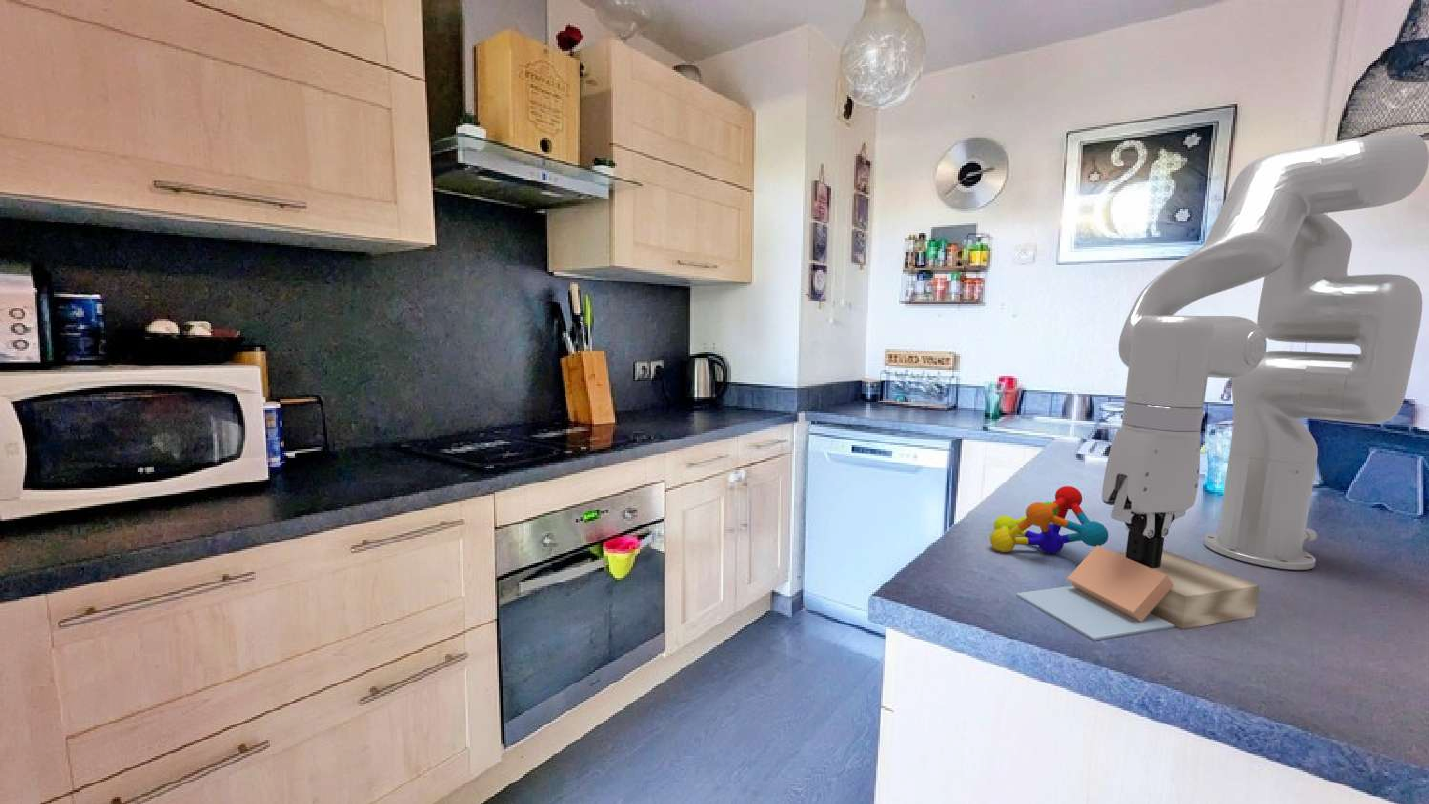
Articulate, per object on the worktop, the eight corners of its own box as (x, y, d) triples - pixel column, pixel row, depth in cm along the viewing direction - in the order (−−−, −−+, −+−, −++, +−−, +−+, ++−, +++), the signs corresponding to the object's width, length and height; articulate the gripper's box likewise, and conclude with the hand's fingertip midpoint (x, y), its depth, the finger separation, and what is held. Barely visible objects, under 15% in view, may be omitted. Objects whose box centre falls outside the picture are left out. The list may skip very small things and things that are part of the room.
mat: (1088, 585, 76) (1088, 583, 76) (1174, 627, 66) (1174, 624, 66) (1016, 595, 73) (1016, 593, 73) (1093, 640, 63) (1094, 638, 63)
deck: (1154, 574, 80) (1158, 547, 80) (1254, 616, 69) (1259, 585, 68) (1088, 583, 77) (1091, 555, 76) (1181, 629, 66) (1186, 596, 65)
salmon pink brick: (1104, 554, 75) (1097, 545, 75) (1173, 585, 67) (1166, 574, 66) (1074, 587, 75) (1067, 577, 74) (1141, 622, 66) (1133, 612, 66)
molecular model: (1009, 585, 84) (1120, 554, 79) (982, 525, 84) (1092, 491, 79) (993, 548, 98) (1086, 521, 93) (970, 497, 98) (1062, 467, 93)
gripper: (1173, 413, 74) (1156, 548, 76) (1084, 415, 70) (1068, 557, 72) (1240, 422, 67) (1218, 571, 69) (1145, 425, 63) (1125, 583, 65)
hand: (1142, 563), depth 71 cm, fingers closed
